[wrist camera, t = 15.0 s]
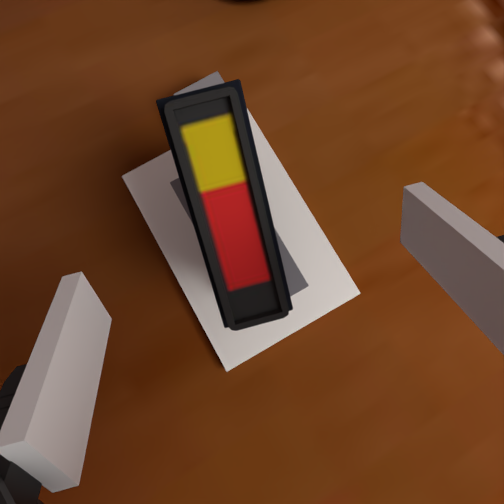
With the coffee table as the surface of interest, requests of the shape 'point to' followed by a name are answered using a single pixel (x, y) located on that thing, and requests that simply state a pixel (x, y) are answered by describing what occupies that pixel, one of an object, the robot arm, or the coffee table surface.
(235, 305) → the magazine
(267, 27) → the coffee table surface
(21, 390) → the robot arm
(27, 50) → the coffee table surface
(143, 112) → the coffee table surface
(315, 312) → the charging pad
